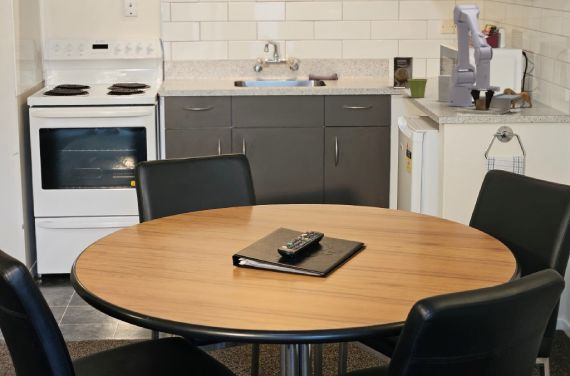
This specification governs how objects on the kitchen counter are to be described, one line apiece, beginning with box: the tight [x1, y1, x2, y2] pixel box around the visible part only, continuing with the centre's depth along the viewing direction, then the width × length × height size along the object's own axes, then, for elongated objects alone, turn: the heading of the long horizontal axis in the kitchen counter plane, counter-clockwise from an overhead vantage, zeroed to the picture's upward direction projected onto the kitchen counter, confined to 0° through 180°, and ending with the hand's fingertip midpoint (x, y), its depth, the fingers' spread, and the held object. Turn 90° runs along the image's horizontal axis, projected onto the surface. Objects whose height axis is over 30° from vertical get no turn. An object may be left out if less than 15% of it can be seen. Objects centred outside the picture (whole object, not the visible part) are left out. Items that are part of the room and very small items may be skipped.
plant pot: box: [408, 78, 428, 99], centre depth 460 cm, size 9×9×9 cm
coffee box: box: [393, 56, 414, 88], centre depth 502 cm, size 9×6×16 cm
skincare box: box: [437, 74, 454, 103], centre depth 442 cm, size 6×4×12 cm
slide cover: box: [493, 93, 521, 100], centre depth 398 cm, size 8×11×1 cm
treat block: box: [476, 99, 489, 111], centre depth 405 cm, size 4×4×5 cm
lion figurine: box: [503, 87, 533, 110], centre depth 413 cm, size 15×5×9 cm, turn 113°
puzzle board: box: [454, 95, 512, 115], centre depth 405 cm, size 20×12×6 cm, turn 56°
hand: (482, 108), depth 405 cm, fingers closed on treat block, 4 cm apart
